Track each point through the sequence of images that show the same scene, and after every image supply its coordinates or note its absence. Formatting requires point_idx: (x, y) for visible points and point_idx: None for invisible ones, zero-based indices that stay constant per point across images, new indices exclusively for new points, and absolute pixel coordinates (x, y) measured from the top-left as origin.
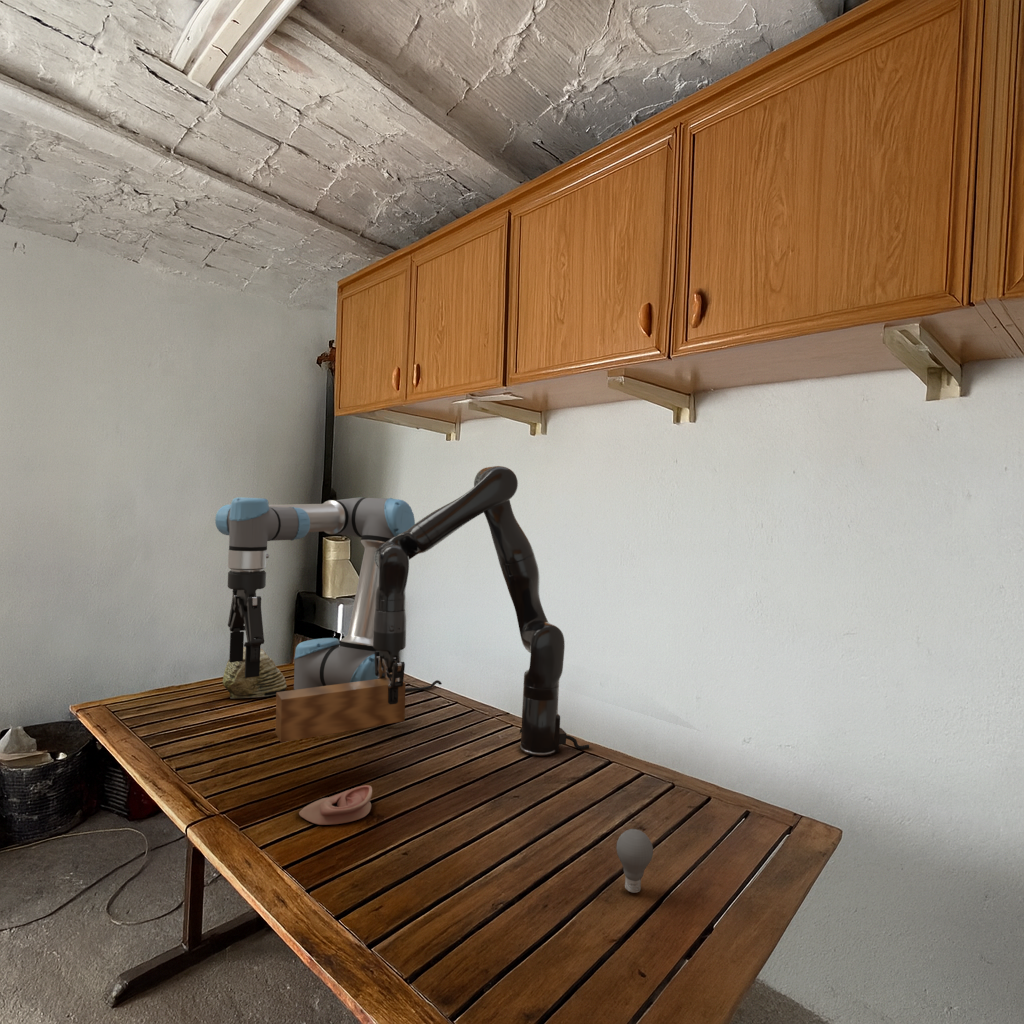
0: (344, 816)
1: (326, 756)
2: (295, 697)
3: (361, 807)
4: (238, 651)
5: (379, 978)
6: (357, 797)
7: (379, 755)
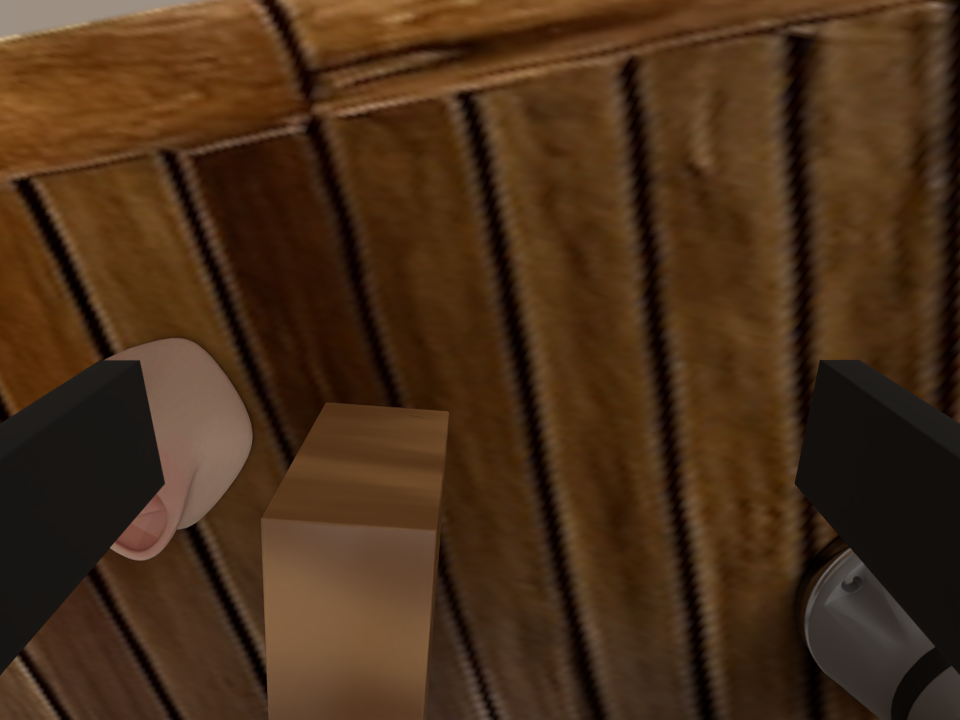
0: None
1: (579, 535)
2: (267, 592)
3: None
4: (866, 503)
5: None
6: None
7: (494, 658)
